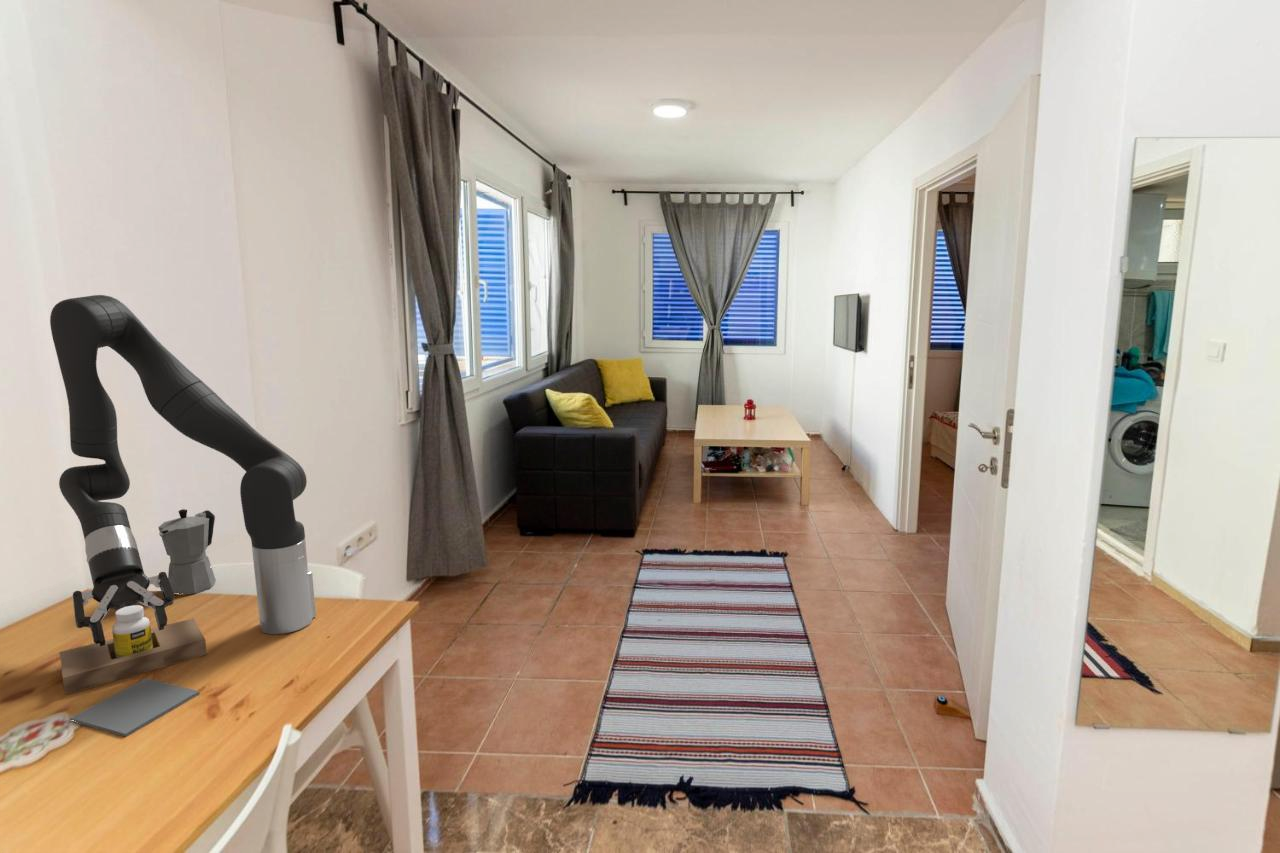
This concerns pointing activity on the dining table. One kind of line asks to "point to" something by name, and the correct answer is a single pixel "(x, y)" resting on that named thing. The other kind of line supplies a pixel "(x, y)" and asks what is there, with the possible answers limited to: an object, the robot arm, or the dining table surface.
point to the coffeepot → (189, 551)
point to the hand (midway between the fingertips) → (133, 635)
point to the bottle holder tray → (130, 657)
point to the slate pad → (134, 706)
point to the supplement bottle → (131, 631)
